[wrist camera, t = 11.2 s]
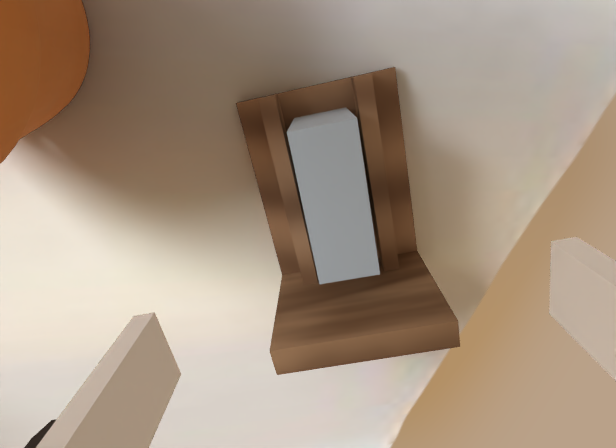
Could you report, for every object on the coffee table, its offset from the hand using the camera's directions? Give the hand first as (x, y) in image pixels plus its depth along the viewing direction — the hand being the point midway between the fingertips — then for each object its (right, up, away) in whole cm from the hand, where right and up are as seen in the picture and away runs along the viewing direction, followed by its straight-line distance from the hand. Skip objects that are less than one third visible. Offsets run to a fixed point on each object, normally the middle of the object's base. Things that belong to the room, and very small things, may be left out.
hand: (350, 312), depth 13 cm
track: (+1, +6, +19) cm, 20 cm away
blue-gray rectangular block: (0, +7, +18) cm, 19 cm away
